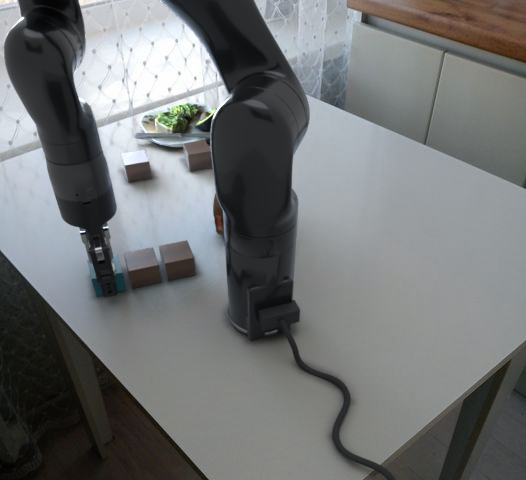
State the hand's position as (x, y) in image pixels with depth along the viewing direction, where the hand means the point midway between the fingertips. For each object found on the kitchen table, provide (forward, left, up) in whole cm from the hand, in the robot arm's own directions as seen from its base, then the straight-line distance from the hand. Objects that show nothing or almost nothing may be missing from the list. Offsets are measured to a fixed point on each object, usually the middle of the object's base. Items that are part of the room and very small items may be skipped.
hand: (106, 276), depth 85 cm
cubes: (+30, -16, -1) cm, 34 cm away
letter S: (0, 0, -1) cm, 1 cm away
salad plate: (+44, -23, -1) cm, 50 cm away
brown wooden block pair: (0, -8, -1) cm, 8 cm away
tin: (+10, -23, -1) cm, 25 cm away
